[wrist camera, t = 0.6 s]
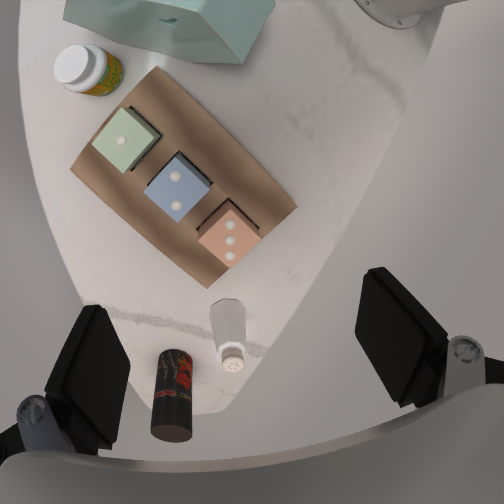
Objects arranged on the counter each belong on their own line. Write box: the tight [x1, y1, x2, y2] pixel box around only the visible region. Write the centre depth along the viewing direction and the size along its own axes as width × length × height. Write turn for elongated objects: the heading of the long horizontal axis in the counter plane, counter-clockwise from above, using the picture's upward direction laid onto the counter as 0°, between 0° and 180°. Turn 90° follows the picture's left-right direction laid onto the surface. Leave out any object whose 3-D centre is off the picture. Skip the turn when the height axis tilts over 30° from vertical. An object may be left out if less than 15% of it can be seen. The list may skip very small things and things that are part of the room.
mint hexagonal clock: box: [63, 0, 276, 64], centre depth 16 cm, size 17×8×21 cm
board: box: [70, 66, 298, 289], centre depth 32 cm, size 16×24×2 cm, turn 43°
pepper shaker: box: [210, 299, 246, 372], centre depth 37 cm, size 5×5×11 cm
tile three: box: [198, 200, 262, 268], centre depth 33 cm, size 5×5×4 cm
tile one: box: [92, 107, 161, 173], centre depth 26 cm, size 5×5×4 cm
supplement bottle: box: [53, 44, 124, 96], centre depth 21 cm, size 5×5×10 cm
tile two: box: [144, 153, 210, 223], centre depth 30 cm, size 5×5×4 cm
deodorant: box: [151, 349, 192, 443], centre depth 39 cm, size 6×6×15 cm
